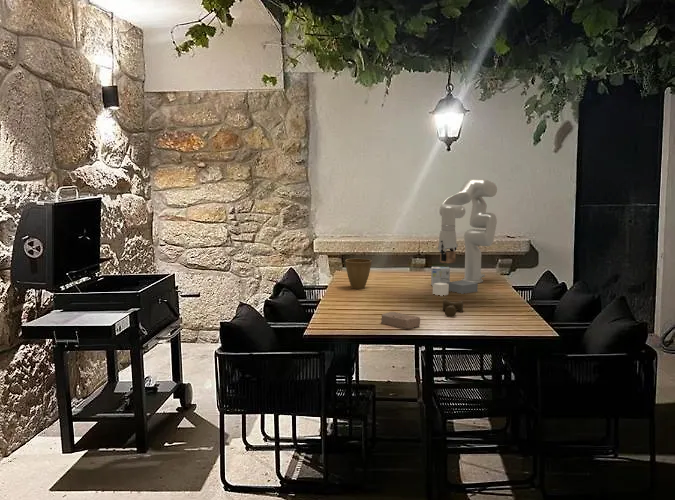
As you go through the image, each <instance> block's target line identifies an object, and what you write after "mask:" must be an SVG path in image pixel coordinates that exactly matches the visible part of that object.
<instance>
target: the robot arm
mask: <svg viewBox="0 0 675 500" xmlns="http://www.w3.org/2000/svg"><path fill="white" fill-rule="evenodd" d="M497 192H498V187H497V185H496V183H494V181H491V180H488V179H485V178H470V179H469V178H468V179H467V180H466V181H465V182H464V184H463V185H462V187H461V188H460V190H459V191H458V192H456V193H455V194H452V195H451V196H448V197H446V199H445V200H444V201H443V202H442V204H441V205H440V208H439V215H440V217H441V227H440V228H441V230H440V231H439V237H438V247H437V249H438V251H439V254H440V253H441V261H446V254H445V253H446V251H448V250H449V251H455V252H457V251H456V250H457V248H458V247H459V245H458V243H457V232H456V219H462V218H463V217H465V214H466V208H465V207H464V206H463V205H466V204H469V203H470V202H472V206H471V211H470V212H471V213H470V217H469V225H470V226H471V227H472V229H471V228H470V229H467V230H466V231H464V234H463V238H464V239H463V241H464V248H465V249H464V252H465V255H464V278H461V280H463V281H468V282H473V283H478V284H479V283H480V284H481V283H483V282H484V279H482V278H485V276H486V275H485V273H482V250H481V249H480V247H479V246H481V247H490V246H492V244H493V243H494V240H495V235H496V228H497V222H498V221H497V220H498V219H497V215H496V214H495V213H492V212H487V207H488V206H487V203H486V201H485V199H484V198H485V197H486V198H492V197H495V196H496V195H497ZM476 228H477V229H476Z"/></svg>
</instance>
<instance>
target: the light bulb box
mask: <svg viewBox="0 0 675 500" xmlns="http://www.w3.org/2000/svg"><path fill="white" fill-rule="evenodd" d="M430 271H431V273H430V275H431V278H430V279H431V285H432V286H431V287H433V284H434V283H446V284H447V282H451V279H450V277H451V272H450V271H451V269H450V267H449V266H431V270H430Z"/></svg>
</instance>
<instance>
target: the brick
mask: <svg viewBox="0 0 675 500" xmlns="http://www.w3.org/2000/svg"><path fill="white" fill-rule="evenodd" d="M380 318H381V319H380V320H381V321H380V323H381V324H384V325H388V326H392V327H397V328H399V327H400V329H404V328H405V329H408V330H409V329H414V327H416V328H418V326H419V327H420V325H421V318H420V316H416V315H409V314H405V313H401V312H396V311H389V312H386V313H383V314H381V317H380ZM405 329H404V330H405Z"/></svg>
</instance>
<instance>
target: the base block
mask: <svg viewBox="0 0 675 500" xmlns="http://www.w3.org/2000/svg"><path fill="white" fill-rule="evenodd" d="M447 284H449V292H451V291H452V292H451V293H455V292H457V293H456V294H460V293H461V295H464V293H465V294H472V293H477V292H478V287H479V285H478V284H479V283H473V282H468V281H463V280H462V279H460V280H453V281H450V282H447Z"/></svg>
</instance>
